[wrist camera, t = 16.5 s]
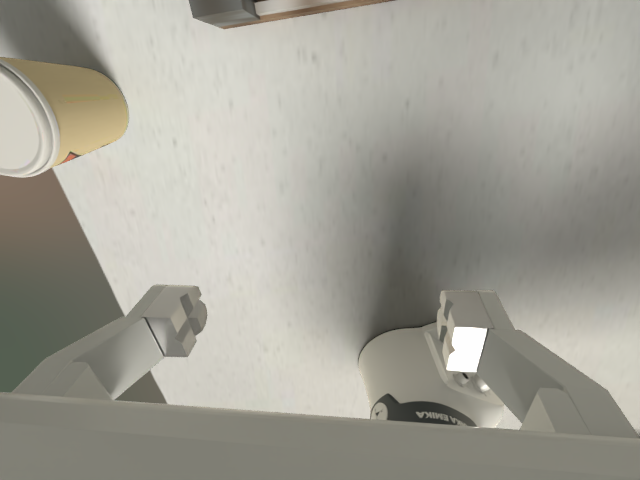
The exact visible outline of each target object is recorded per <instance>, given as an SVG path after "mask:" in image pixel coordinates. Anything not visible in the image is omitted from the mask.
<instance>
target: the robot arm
mask: <svg viewBox="0 0 640 480" xmlns="http://www.w3.org/2000/svg"><path fill="white" fill-rule="evenodd" d="M200 297H201V292H200V290H199V287H196V286H187V285H157V284H156V285H154V286H152V287H151V288H150V289H149V290H148V291H147V293H146V294H145V295H144V296H143V297H142V298H141V300H140V301H139V302H138V303H137V304H136V305H135V307H134V308H133V309H132V310H131V311H130V312H129V314H128V315H127V316H126V317H121V318H119V319H117V320H115V321H113V322H111V323H109V324H108V325H106V326H104V327H102V328H100V329H98V330H97V331H95V332H93V333H91V334H89V335H88V336H86V337H84V338H82V339H80V340H79V341H77V342H75V343H73V344H71V345H69V346H67V347H66V348H64V349H62V350H60V351H58V352H56V353H55V354H53V355H51V356H49V357H48V358H45V359H44V360H43V361H42V362H41V363H40V364H39V365H38V366H37V367H36V368H35V369H34V370H33V372H32V373H30V374H29V375H28V377H26V379H24V380H23V381H22V382H21V384H19V385H18V386H17V388H16V389H15V390H14V391H13V392H12V393H4V392H0V480H640V437H639V436H638V434H637V433H636V431H635V430H634V429H633V427H632V426H631V424H630V423H629V421H628V420H627V418H626V417H625V415H624V414H623V412H622V411H621V409H620V408H619V406H618V405H617V404H616V402H615V401H614V399H613V398H612V396H611V395H610V393H609V392H608V390H606V389H605V388H603V387H602V386H601V385H599V384H598V383H596V382H595V381H593V380H592V379H590V378H589V377H588V376H586V375H585V374H583V373H582V372H580V371H579V370H577V369H576V368H575V367H573V366H572V365H570V364H569V363H567V362H566V361H564V360H563V359H562V358H560V357H559V356H557V355H556V354H554V353H553V352H551V351H550V350H549V349H547V348H546V347H544V346H543V345H541V344H540V343H538V342H537V341H536V340H534V339H533V338H531V337H530V336H528V335H527V334H526V333H524V332H523V331H521V330H515V328H514V327H513V325H512V323H511V321H510V319H509V317H508V315H507V313H506V311H505V309H504V307H503V305H502V303H501V301H500V300H499V298H498V296H497V294H496V292H495V291H493V290H476V291H472V290H442V291H441V294H440V299H439V300H440V304H441V308H440V309H439V310H438V313H437V322H435V323H432V324H428V325H426V326H423V327H420V328H405V329H397V330H392V331H389V332H386V333H383V334H381V335H379V336H377V337H376V338H374V339H373V340H371V341H370V342H369V343H368V344H367V345H366V346H365V347H364V349H363V350H362V352H361V354H360V357H359V362H358V366H359V371H360V374H361V376H362V379H363V382H364V385H365V388H366V392H367V396H368V401H369V405H370V411H371V414H370V419H362V418H348V417H334V416H320V415H306V414H293V413H279V412H266V411H252V410H238V409H225V408H211V407H197V406H184V405H170V404H155V403H143V402H129V401H115V400H114V399H115V398H117V397H118V396H119V395H120V394H121V393H123V392H124V391H125V390H126V389H128V388H129V387H130V386H131V385H132V384H134V383H135V382H136V381H137V380H138V379H139V378H141V377H142V376H143V375H144V374H145V373H147V372H148V371H149V370H150V369H151V368H153V367H154V366H155V365H156V364H157V363H159V362H160V361H161V360H162V359H163V358H164V357H188V356H189V354H190V352H191V350H192V348H193V347H194V345H195V343H196V337H195V336H196V335H197V334H198V333H200V332H201V331H202V330H203V328H204V326H205V324H206V320H207V309H206V306H205V304H204V303H203V302H202V301H201V300H199V299H200ZM504 404H505V405H506V406H507V407H508V408H509V410H510V411H511V412H512V413H513V414H514V415H515V416H516V417H517V418H518V419H519V420H520V422H521V423H522V426H521V428H520V430H513V429H500V428H495V427H496V426H497V425H498V423H499V422H500V420H501V419H502V417H503V414H504Z"/></svg>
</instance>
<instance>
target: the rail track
mask: <svg viewBox="0 0 640 480" xmlns="http://www.w3.org/2000/svg"><path fill="white" fill-rule="evenodd" d="M388 1H394V0H189V3H190V7H191V11H192V15H193V18H195V19H198V20H200V21H203V22H206V23H209V24H212V25H214V26H217V27H220V28H223V29H228V28H234V27H240V26H246V25H252V24H257V23H263V22H269V21H275V20H281V19H287V18H293V17H299V16H305V15H311V14H317V13H323V12H329V11H335V10H341V9H346V8H352V7H358V6H364V5H370V4H376V3H382V2H388Z"/></svg>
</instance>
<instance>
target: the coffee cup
mask: <svg viewBox="0 0 640 480" xmlns="http://www.w3.org/2000/svg"><path fill="white" fill-rule="evenodd" d="M128 123H129V111H128V106H127V103H126V101H125V98H124V96H123V95H122V93H121V91H120V90H119V88H118V87H117V86H116V85H115V84H114V83H113V82H112V81H111V80H110V79H109V78H108V77H106V76H105V75H103V74H102V73H100V72H98V71H95V70H92V69H89V68H83V67H77V66H69V65H62V64H54V63H46V62H38V61H30V60H22V59H14V58H5V57H0V174H1V175H6V176H14V177H31V176H35V175H38V174H40V173H43V172H45V171H46V170H48V169H49V168H52V167H54V166H57V165H59V164H62V163H64V162H67V161H69V160H72V159H74V158H77V157H79V156H82V155H84V154H86V153H89V152H91V151H94V150H96V149H98V148H101V147H103V146H106V145H108V144H110V143H112V142H114V141H116V140H118V139H119V138H121V137H122V136H123V134H124V133H125V132H126V130H127V127H128Z"/></svg>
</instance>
